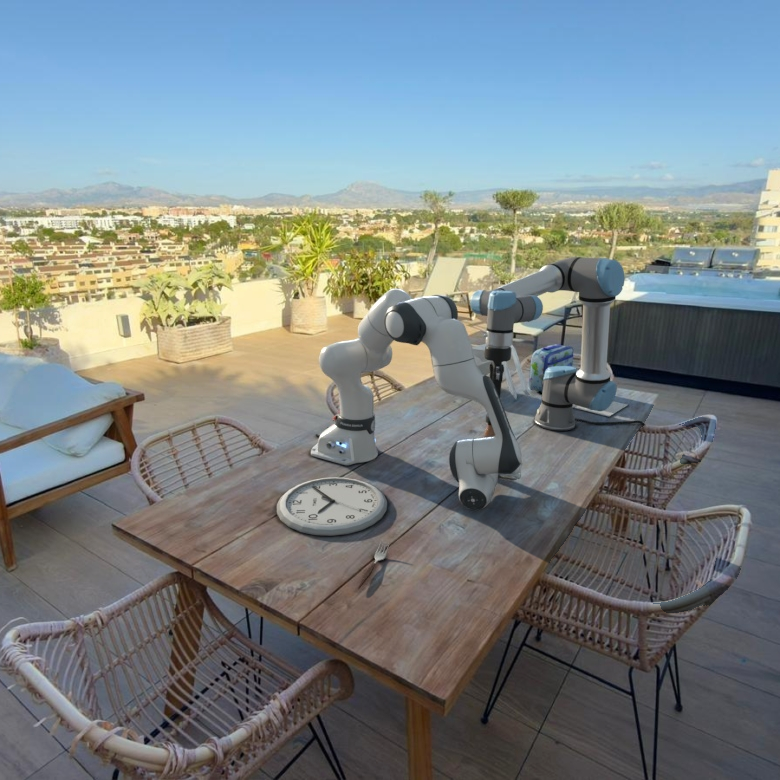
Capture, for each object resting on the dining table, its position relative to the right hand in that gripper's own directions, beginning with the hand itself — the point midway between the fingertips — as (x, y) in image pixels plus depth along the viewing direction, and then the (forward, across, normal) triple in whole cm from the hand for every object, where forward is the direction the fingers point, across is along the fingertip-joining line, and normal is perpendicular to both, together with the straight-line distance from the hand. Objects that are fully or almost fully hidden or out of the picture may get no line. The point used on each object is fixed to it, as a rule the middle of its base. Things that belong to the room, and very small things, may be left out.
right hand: (492, 422), depth 157 cm
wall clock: (+18, +26, -43) cm, 53 cm away
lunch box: (+18, -98, +33) cm, 104 cm away
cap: (-2, 0, 0) cm, 2 cm away
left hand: (+11, -1, 0) cm, 11 cm away
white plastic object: (+18, -86, -1) cm, 88 cm away
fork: (+18, +52, -27) cm, 61 cm away
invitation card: (+18, -75, +51) cm, 92 cm away
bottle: (+18, 0, 0) cm, 18 cm away
